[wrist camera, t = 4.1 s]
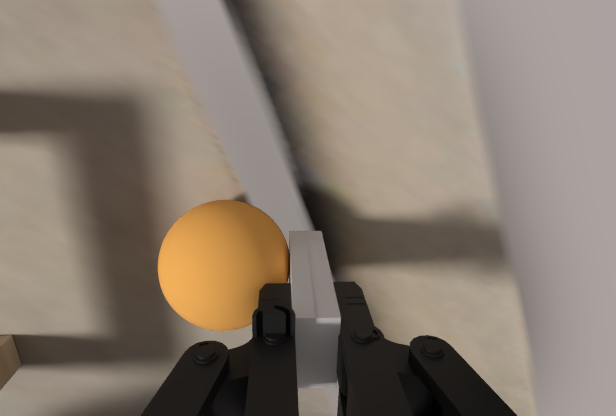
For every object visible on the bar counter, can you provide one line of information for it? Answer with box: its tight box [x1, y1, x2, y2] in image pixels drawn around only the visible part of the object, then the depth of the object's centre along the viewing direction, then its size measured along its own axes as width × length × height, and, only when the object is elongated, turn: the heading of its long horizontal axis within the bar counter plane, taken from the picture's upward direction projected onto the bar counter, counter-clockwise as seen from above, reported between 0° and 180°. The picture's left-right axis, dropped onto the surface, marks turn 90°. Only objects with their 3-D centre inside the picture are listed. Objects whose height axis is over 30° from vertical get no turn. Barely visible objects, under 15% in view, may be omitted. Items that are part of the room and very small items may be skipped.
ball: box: [158, 200, 290, 331], centre depth 17 cm, size 6×6×6 cm
